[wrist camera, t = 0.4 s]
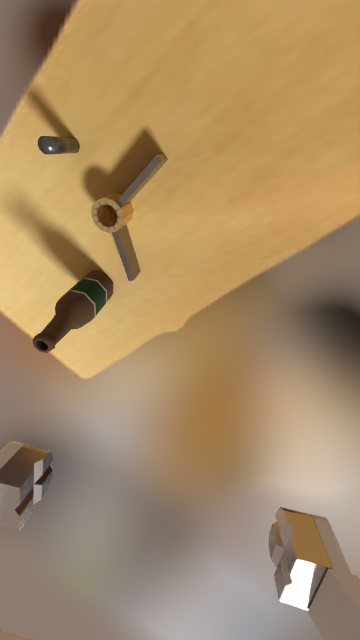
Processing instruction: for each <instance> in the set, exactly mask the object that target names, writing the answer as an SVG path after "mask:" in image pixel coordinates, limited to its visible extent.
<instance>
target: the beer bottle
mask: <svg viewBox="0 0 360 640" xmlns="http://www.w3.org/2000/svg"><path fill="white" fill-rule="evenodd" d="M112 294H113V282H112V281H111V280H110V278H109V277H108V276H107V275H106V274H105V273H101V272H97V271H92V272H91V273H89V274H88V275H87V276H85V277H84V278H83V279H81V280H80V281H79V282H78V283H77V284H76V285H75V286H73V287H72V288H71V289H70V290H69V291H68V292H67V293H66V294H64V295H63V296H62V297H61V298H60V299H59V300H58V302H57V303H56V307H55V312H56V315H55V316H54V318H53V319H52V321H51V322H50V323H49V324H48V325H47V326H46V327H45V329H44V330H43V331H42V332H41V333H39V334H38V335H36V336H35V337H34V339H33V344H34V347H36V348H37V349H38V350H39V351H41V352H45V353H47V352H49V351H51V350H52V349H54V348H55V345H56V344H57V343H58V342H59V341H60V340H61V339H62V338H63V337H64V336H65V335H66V334H67V333H68V332H69V331H70V330H71V329H78V328H80V327H82V326H84V325H85V324H87V323H88V322H90V321H91V320H92V319H93V318H94V317H95V316H96V315H97V314H98V312H99V311H100V310H101V309H102V307H103V306H104V305H105V304H106V302H107V301H108V300H109V299H110V297H111V296H112Z"/></svg>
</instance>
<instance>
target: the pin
mask: <svg viewBox="0 0 360 640" xmlns="http://www.w3.org/2000/svg"><path fill="white" fill-rule="evenodd" d="M38 146H39V149H40V150H41V151H42V152H43V153H44V154H65V153H77V152H78V151H79V148H80V146H79V142H78V141H77V140H76V139H75V138H72V137H52V136H41V137H40V138H39V139H38Z"/></svg>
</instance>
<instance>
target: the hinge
mask: <svg viewBox="0 0 360 640" xmlns="http://www.w3.org/2000/svg"><path fill="white" fill-rule="evenodd" d="M167 160H168V159H167V158H166V157H165V156H164V154H159V155H156V156H155V157H154V158H153V159H152V161H151V162H150V163H149V164H148V165H147V166H146V168H145V169H144V170H143V171H142V172H141V173H140V174H139V176H138V177H137V178H136V179H135V180H134V181H133V183H132V184H131V185H130V186H129V187H128V188H127V190H126V191H125V192H124V193H123V194H119V193H114V194H110V195H108V196H105V197H103V198H100V199H98V200H97V201H96V202H95V203H94V204H93V206H92V213H91V214H92V218H93V221H94V223H95V224H96V225H97V226H98V227H99V228H100V230H102V231H105V232H108V233H111V232H112V233H113V236H114V239H115V242H116V245H117V248H118V251H119V254H120V257H121V259H122V262H123V265H124V268H125V271H126V274H127V277H128V280H129V281H132V280H135V278H136V277H137V275H138V274H139V273H140V267H139V264H138V261H137V258H136V254H135V251H134V248H133V245H132V242H131V238H130V235H129V232H128V229H127V226H126V224H127V223H128V222H129V221H130V220H131V219H132V215H133V208H132V204H131V203H130V201H131V200H132V199H133V198H134V197H135V196H136V194H137V193H138V192H139V191H140V190H141V189H142V188H143V187H144V186H145V184H146V183H147V182H148V181H149V180H150V179H151V178H152V177H153V176H154V174H155V173H156V172H157V171H158V170H159V169H160V168H161V167H162V166H163V164H164V163H165V162H166V161H167ZM109 205H110V206H112V207H113V208H114V209H115V210H116V212H117V216H118V219H115V218H114V217H113V216H112V215H111V213H110V210H109Z"/></svg>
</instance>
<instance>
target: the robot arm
mask: <svg viewBox="0 0 360 640" xmlns="http://www.w3.org/2000/svg"><path fill="white" fill-rule="evenodd" d="M52 461H53V452H52V451H48V450H45V449H41V448H38V447H34V446H30V445H27V444H22V443H18V442H15V441H12V442H10V443H8V444H7V445H6V446H5V447H4V448H3V449H2V450H1V451H0V527H1V528H5V529H9V530H14V531H18V532H19V531H20V530H21V529H22V527H23V525H24V524H25V523H26V521H27V520H28V518H29V517H30V515H31V514H32V512H33V504H35V503H36V502H38V501H39V500H41V499H42V498H43V496H44V495H45V493H46V491H47V489H48V487H49V485H50V483H51V479H52V475H53V469H52V468H51V466H50V464H51V463H52ZM276 518H277V522H276V523H274V524H272V526H271V530H270V534H269V551H270V556H271V560H272V561H273V562H274V564H275V565H276V567H277V569H276V571H275V574H274V577H275V583H276V588H277V592H278V598H279V602H283V603H286V604H289V605H293V606H296V607H299V608H303V609H306V610H308V614H309V615H310V617H311V619H312V620H313V622H314V624H315V625H316V627H317V629H318V630H319V632H320V634H321V635H322V637H323V639H324V640H360V579H359V578H358V577H357V576H356V575H352V574H351V571H350V569H349V567H348V564H347V562H346V560H345V558H344V555H343V553H342V551H341V549H340V546H339V544H338V542H337V539H336V537H335V535H334V532H333V530H332V528H331V525H330V523H329V521H328V520H327V519H326V518H324V517H320V516H316V515H312V514H308V513H304V512H299V511H295V510H291V509H286V508H282V507H280V508H279V509H278V510H277V513H276ZM0 640H33V639H29V638H26V637H23V636H19V635H16V634H13V633H9V632H5V631H2V630H0Z"/></svg>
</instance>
